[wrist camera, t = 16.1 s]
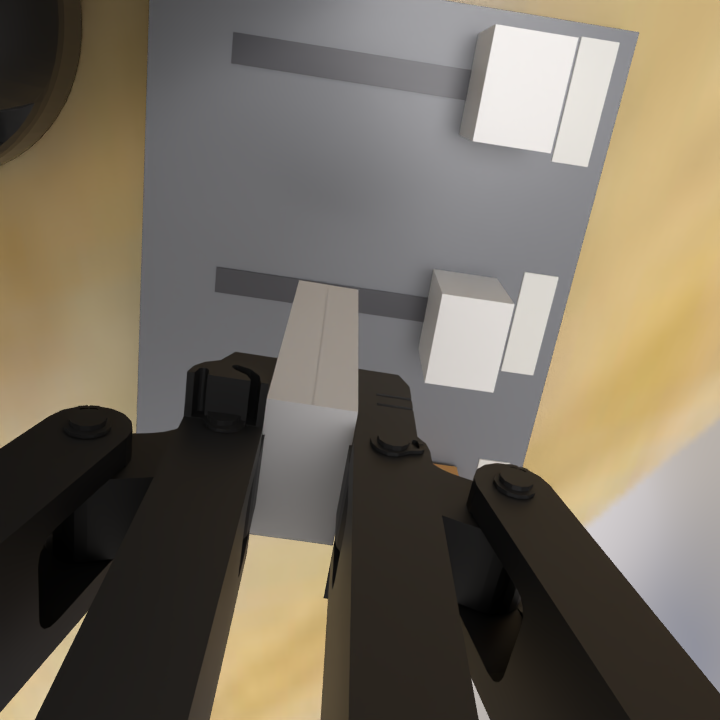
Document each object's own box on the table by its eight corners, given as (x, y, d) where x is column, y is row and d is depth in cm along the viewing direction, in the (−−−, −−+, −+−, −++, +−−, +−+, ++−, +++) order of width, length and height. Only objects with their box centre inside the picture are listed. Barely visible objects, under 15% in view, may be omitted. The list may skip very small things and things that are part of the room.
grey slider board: (145, 483, 38) (106, 552, 33) (164, -39, 29) (113, -72, 23) (493, 529, 39) (514, 604, 34) (622, 36, 30) (682, 22, 24)
